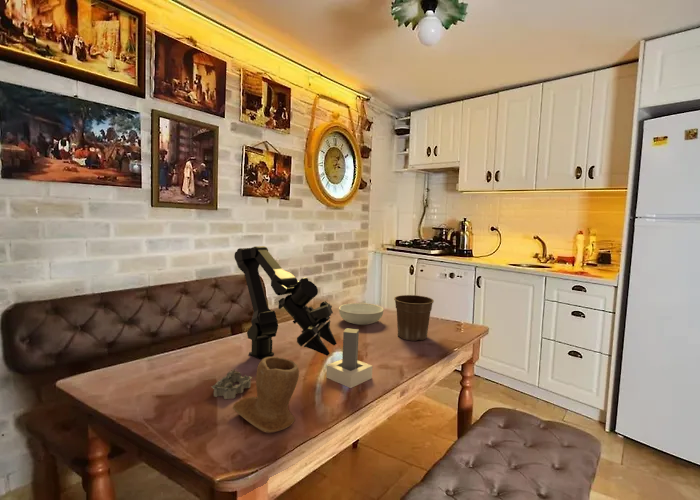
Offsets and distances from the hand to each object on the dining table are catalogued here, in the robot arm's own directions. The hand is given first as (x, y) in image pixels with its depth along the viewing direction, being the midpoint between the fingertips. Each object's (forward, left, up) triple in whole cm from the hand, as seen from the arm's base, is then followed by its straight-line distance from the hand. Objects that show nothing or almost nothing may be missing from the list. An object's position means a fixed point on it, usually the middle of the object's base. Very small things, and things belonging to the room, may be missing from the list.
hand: (332, 349), depth 121 cm
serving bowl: (+53, +32, -9) cm, 62 cm away
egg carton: (-27, +12, -9) cm, 31 cm away
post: (+3, -5, -8) cm, 10 cm away
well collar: (+3, -5, -8) cm, 10 cm away
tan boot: (-29, -7, -9) cm, 31 cm away
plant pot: (+53, +4, -9) cm, 54 cm away
